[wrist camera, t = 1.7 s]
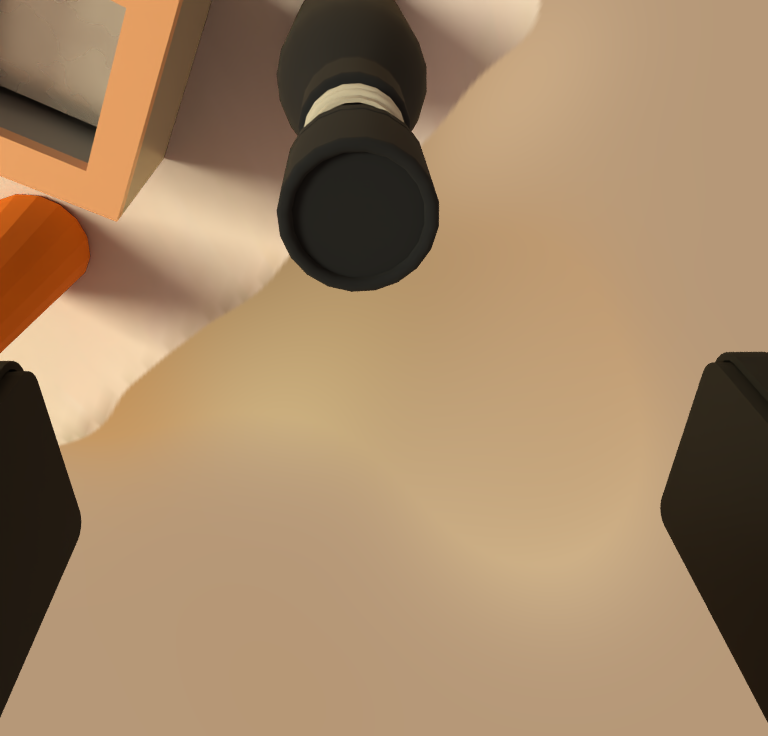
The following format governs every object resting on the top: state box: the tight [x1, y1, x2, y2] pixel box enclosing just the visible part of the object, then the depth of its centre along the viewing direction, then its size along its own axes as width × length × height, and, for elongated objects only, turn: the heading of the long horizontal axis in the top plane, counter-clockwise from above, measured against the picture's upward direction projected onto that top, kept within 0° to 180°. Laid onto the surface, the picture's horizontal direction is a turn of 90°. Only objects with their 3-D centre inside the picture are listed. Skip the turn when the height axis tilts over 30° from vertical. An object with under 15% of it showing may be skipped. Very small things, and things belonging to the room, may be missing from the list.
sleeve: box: [0, 0, 212, 222], centre depth 35 cm, size 12×12×11 cm
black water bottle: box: [277, 0, 439, 292], centre depth 28 cm, size 6×6×30 cm
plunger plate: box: [0, 0, 126, 127], centre depth 35 cm, size 7×7×1 cm
